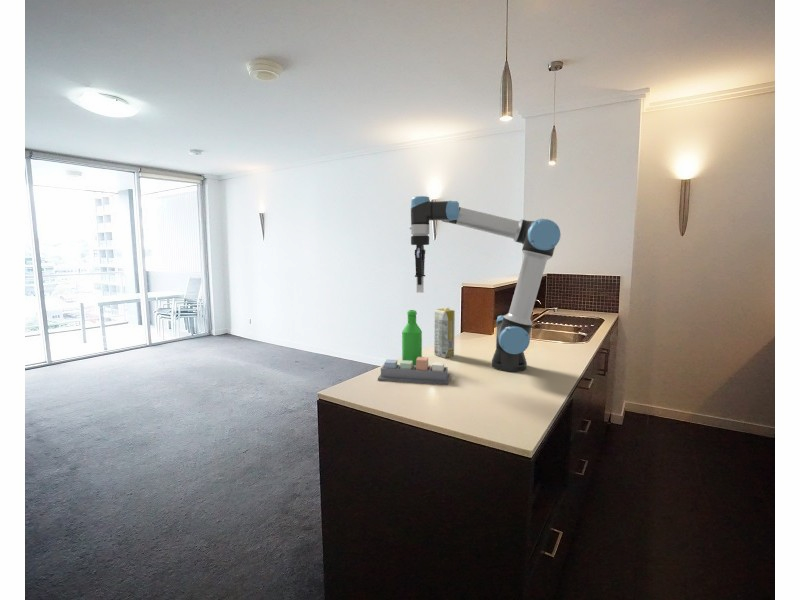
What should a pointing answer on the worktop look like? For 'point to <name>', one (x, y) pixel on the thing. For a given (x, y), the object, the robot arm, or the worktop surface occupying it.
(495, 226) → the robot arm
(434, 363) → the key cream
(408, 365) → the key sage
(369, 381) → the worktop surface
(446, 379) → the keypad
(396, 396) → the worktop surface
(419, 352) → the bottle
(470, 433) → the worktop surface
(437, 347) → the juice carton
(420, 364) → the key terracotta
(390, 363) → the key slate
